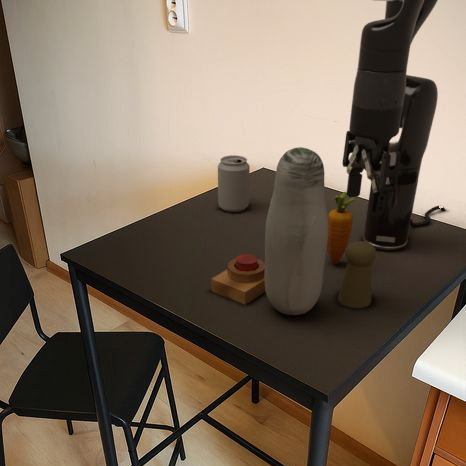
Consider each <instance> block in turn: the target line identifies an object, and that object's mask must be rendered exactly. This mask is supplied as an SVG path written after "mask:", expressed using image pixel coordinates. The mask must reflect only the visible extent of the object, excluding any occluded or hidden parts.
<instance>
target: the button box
mask: <svg viewBox="0 0 466 466" xmlns="http://www.w3.org/2000/svg"><path fill="white" fill-rule="evenodd" d="M210 280H211V281H210V282H211V292H213V293H215V294H217V295H220V296H222V297H225V298H227V299H230V300H232V301H235V302H237V303H240V304H242V305H247V304H249V303H250V302H252V301H253V300H255V299H256V298H258V297H259V296H261V295H262V294H264V293H266V291H265V261H263V260H262V259H259V258H257V269H256V270H253V271H240V270H238V269H236V258H233V259H232V260H229V262H228V264H227V269H225V270H223V271H222V272H220V273H218V274H217V275H215V276H213V277H211V279H210Z"/></svg>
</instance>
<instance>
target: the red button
mask: <svg viewBox="0 0 466 466" xmlns="http://www.w3.org/2000/svg"><path fill="white" fill-rule="evenodd" d="M257 259H258V257H257V256H256V255H255V254H250V253H244V254H239V255H237V256H236V269H238V270H240V271H253V270H256V269H257Z"/></svg>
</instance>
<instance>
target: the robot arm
mask: <svg viewBox="0 0 466 466" xmlns="http://www.w3.org/2000/svg"><path fill="white" fill-rule="evenodd" d="M373 1H374V2H375V1H376V2H377V1H378V2H379V1H380V2H381V1H382V2H385V9H384V10H385V11H384V18H382V19H376V20H373V21H370V22H368V23H366V24H364V26H363V27H362V31H361V34H360V40H359V50H358V51H359V52H358V59H357V69H356V75H355V79H354V83H353V89H352V90H353V91H352V100H351V109H350V117H349V127H348V130H347V131H346V133H345V141H344V147H343V155H342V162H341V163H342V167H343V168H346V174H348V177H347V184H346V185H347V186H346V192H347V193H346V197H349V198H356V197H357V198H358V197H359V196H360V195H361V190H362V182H363V174H362V173H363V172H364V171H365V172H366V178H367V179H368V180H370V188H369V194H368V203H367V209H366V217H365V224H364V231H363V235H362V241H364V242H368V243H370V244H372V245H373V246H374V247H375V250H379V251H386V252H387V251H389V252H390V251H398V250H402V249H404V248H405V247H406V246H407V245H408V238H409V232H410V227H413V228H414V227H415V228H417V227H418V228H419V227H422V226H426V225H428V224H430V223H431V217H430V216H429V215H430V214H432V213H433V212H435V211H438V210H440V211H441V212H446V208H445V207H444V206H443V208H441V209H440V208H439V206H440V205H436V206H433V207H431V208H430V209H428V210H427V211H426V212H425V213H424V218H425V220H423V221H420V222H414V221H413V218H412V216H413V210H414V204H415V200H416V194H417V188H418V183H419V178H420V172H421V166H422V163H423V157H424V155H425V152H426V150H427V147H428V144H429V139H430V134H431V130H432V126H433V122H434V118H435V114H436V110H437V105H438V94H439V93H438V86H437V84H436V82H435V81H434V80H433V79H430V78H426V77H421V76H416V75H415V76H414V75H409V74H407V72H408V71H407V70H408V63H409V57H410V51H411V50H410V49H411V45H412V43H413V41H414V39H415V37H416V35H417V34H418V32H420V31H419V30H420V29H421V28H422V27H423V25H424V23H425V22H426V21H427V19H428V18H429V16H430V14H431V13H432V12H433V9H434V8H435V6H436V5H437V3H438V1H439V0H373ZM400 129H401V132H400ZM399 133H400V135H399ZM398 135H399V138H398V140H396V141H391V140H392V139H393V138H395V137H396V136H398Z"/></svg>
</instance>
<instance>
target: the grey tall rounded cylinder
mask: <svg viewBox="0 0 466 466" xmlns="http://www.w3.org/2000/svg"><path fill="white" fill-rule="evenodd" d="M273 185H274V186H273V191H272V196H271V199H270V204H269V207H268V212H267V216H266V220H265V231H264V233H265V234H264V264H265V294H266V298H267V300H268V302H269V303H270V304H271V306H272V307H273V308H274V309H275V310H276V311H278V312H280V313H281V314H283V315H287V316H299V315H304V314H306V313H307V312H309V311H311V309H313V308H314V306H315V305H316V304H317V302H318V300H319V299H320V296H321V294H322V289H323V284H324V283H323V282H324V276H325V265H326V257H327V252H328V249H327V241H328V214H329V213H328V209H327V208H328V207H327V202H326V201H327V200H326V189H325V188H326V187H325V166H324V162H323V160H322V158H321V156H320V155H319V154H318V152H316V151H314V150H313V149H310V148H307V147H293V148H290V149H288V150H287V151H285V152H284V154H282V156H281V157H280V159H279V160H278V163H277V165H276V170H275V179H274V184H273Z"/></svg>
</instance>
